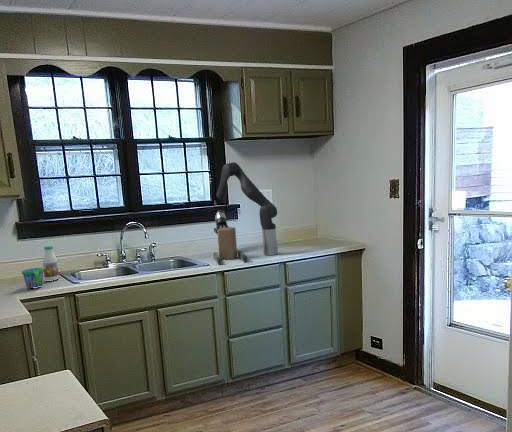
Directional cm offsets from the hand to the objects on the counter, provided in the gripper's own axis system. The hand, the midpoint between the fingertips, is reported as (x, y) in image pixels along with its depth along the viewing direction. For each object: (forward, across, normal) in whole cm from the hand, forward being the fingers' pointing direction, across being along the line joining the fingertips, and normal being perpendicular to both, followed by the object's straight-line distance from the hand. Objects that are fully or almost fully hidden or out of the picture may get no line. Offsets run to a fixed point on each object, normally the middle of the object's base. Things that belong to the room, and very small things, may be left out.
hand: (224, 239), depth 322 cm
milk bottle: (+33, -106, -17) cm, 112 cm away
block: (+20, 0, -4) cm, 20 cm away
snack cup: (+45, -110, -29) cm, 123 cm away
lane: (+25, 0, -10) cm, 27 cm away
